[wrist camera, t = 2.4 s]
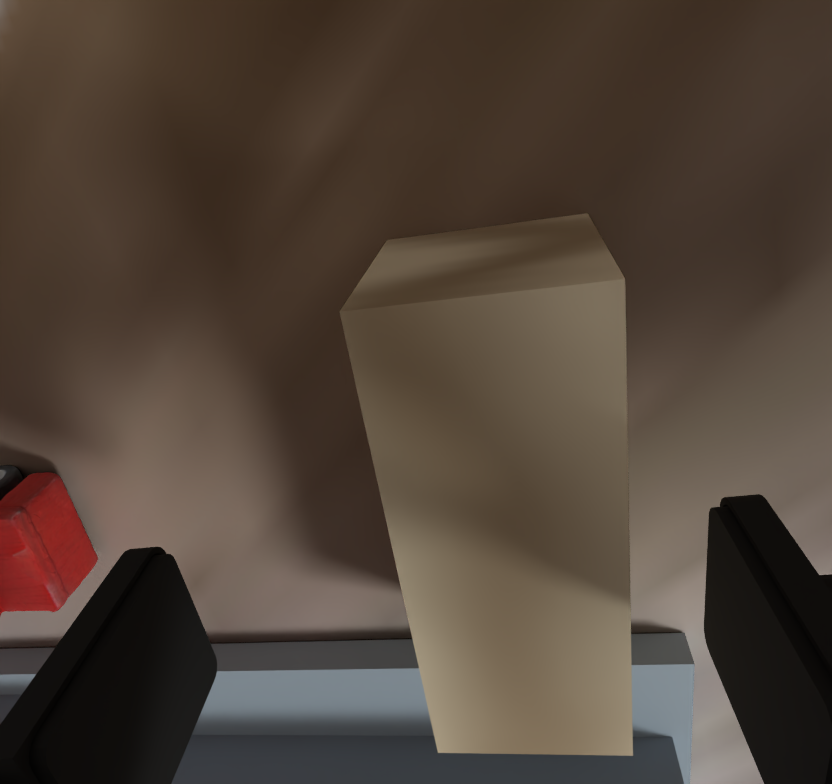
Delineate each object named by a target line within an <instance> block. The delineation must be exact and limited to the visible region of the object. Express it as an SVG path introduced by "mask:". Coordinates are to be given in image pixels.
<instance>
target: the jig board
mask: <svg viewBox="0 0 832 784" xmlns="http://www.w3.org/2000/svg"><path fill="white" fill-rule="evenodd" d="M211 646H212V648H213V651H214V653H215V655H216V659H217V673H216V677H215V680H214V683H213V685H212V687H211V690H210V692H209V695H208V697H207V699H206V702H205V704H204V707H203V709H202V711H201V714H200V716H199V719H198V721H197V723H196V726H195V728H194V731H193V733H192V735H191V738H190V740H189V743H188V745H187V747H186V750H185V752H184V755H183V757H182V759H181V762H180V764H179V767H178V769H177V771H176V774H175V776H174V779H173V781H172V783H171V784H690V770H691V743H692V717H693V691H694V661H693V658H692V655H691V652H690V649H689V646H688V642H687V639H686V636H685V633H654V634H631V666H632V728H633V756H618V755H550V754H482V753H438V751H437V746H436V742H435V738H434V733H433V729H432V724H431V720H430V715H429V711H428V706H427V702H426V697H425V693H424V688H423V684H422V679H421V675H420V670H419V666H418V661H417V657H416V653H415V648H414V644H413V639H398V640H355V641H313V642H270V643H227V644H211ZM54 649H55V648H14V649H0V724H1V723H2V721H3V720H4V719H5V717H6V716H7V714H8V713H9V712H10V710H11V709H12V707H13V706H14V705H15V703H16V702H17V700H18V699H19V698H20V696H21V695H22V693H23V692H24V691H25V689H26V688H27V686H28V685H29V684H30V682H31V681H32V680H33V678H34V677H35V675H36V674H37V673H38V671H39V670H40V668H41V667H42V666H43V664H44V663H45V661H46V660H47V659H48V657H49V656H50V654H51V653H52V652H53V650H54Z"/></svg>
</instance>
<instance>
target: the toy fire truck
mask: <svg viewBox="0 0 832 784" xmlns="http://www.w3.org/2000/svg"><path fill="white" fill-rule="evenodd" d="M97 560H98V557H97V555H96V553H95V551H94V549H93V547H92V544H91V542H90V540H89V538H88V536H87V533H86V532H85V529H84V527H83V525H82V522H81V520H80V518H79V517H78V514H77V512H76V510H75V508H74V505H73V502H72V500H71V499H70V497H69V495H68V493H67V490H66V488H65V486H64V483H63V481H62V479H61V478H60V476H58V475H57V474H55V473H50V472H45V473H34V474H30V475H28V476H27V477H26V478H25V479H24V480H23V477H22V475H21V473H20V471H19V470H18V469H17V468H16V467H14V466H11V465H3V466H0V615H1V613H2V612H4V611H52V612H55V611H57V610H59V609H60V608H61V607H62V606H63V605H64V604H65V602H66V600H67V598H68V597H69V596H70V595H71V594H72V593H73V592H74V591H75V590H76V588H77V587H78V586H79V585H80V584H81V582H82V580H83V579H84V578H85V577H86V576H87V575H88V573H89V572H90V571H91V570H92V568H93V567H94V566H95V564H96V562H97Z"/></svg>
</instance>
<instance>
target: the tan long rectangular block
mask: <svg viewBox="0 0 832 784" xmlns="http://www.w3.org/2000/svg"><path fill="white" fill-rule="evenodd" d="M339 313H340V317H341V322H342V326H343V330H344V335H345V339H346V344H347V348H348V353H349V357H350V362H351V366H352V371H353V375H354V380H355V384H356V389H357V393H358V398H359V402H360V406H361V411H362V415H363V420H364V424H365V429H366V433H367V438H368V442H369V447H370V451H371V456H372V460H373V465H374V469H375V474H376V478H377V483H378V487H379V491H380V496H381V500H382V505H383V509H384V514H385V518H386V523H387V527H388V532H389V536H390V541H391V545H392V550H393V554H394V559H395V563H396V568H397V572H398V576H399V581H400V585H401V590H402V594H403V599H404V603H405V608H406V612H407V617H408V621H409V626H410V630H411V635H412V639H413V644H414V648H415V653H416V657H417V661H418V666H419V670H420V675H421V679H422V684H423V688H424V693H425V697H426V702H427V706H428V711H429V715H430V720H431V724H432V729H433V733H434V738H435V742H436V746H437V751H438V753H482V754H550V755H618V756H633V728H632V666H631V605H630V544H629V483H628V421H627V360H626V299H625V278H624V276H623V274H622V273H621V271H620V269H619V267H618V266H617V264H616V262H615V260H614V259H613V257H612V255H611V253H610V252H609V250H608V248H607V246H606V245H605V243H604V241H603V239H602V238H601V236H600V234H599V232H598V231H597V229H596V227H595V225H594V224H593V222H592V220H591V218H590V217H589V215H588V213H585V214H577V215H570V216H562V217H555V218H547V219H540V220H533V221H525V222H518V223H510V224H503V225H495V226H488V227H481V228H473V229H466V230H458V231H451V232H443V233H436V234H428V235H421V236H414V237H406V238H399V239H391V240H387V241H386V242H385V244H384V245H383V247H382V248H381V250H380V251H379V253H378V254H377V256H376V257H375V259H374V260H373V262H372V263H371V265H370V266H369V268H368V269H367V271H366V272H365V274H364V275H363V277H362V278H361V280H360V281H359V283H358V284H357V286H356V287H355V289H354V290H353V292H352V293H351V295H350V296H349V298H348V299H347V301H346V302H345V304H344V305H343V307H342V308H341V310H340V311H339Z"/></svg>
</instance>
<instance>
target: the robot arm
mask: <svg viewBox="0 0 832 784" xmlns="http://www.w3.org/2000/svg"><path fill="white" fill-rule="evenodd" d="M704 633H705V639H706V643H707V647H708V650H709V653H710V655H711V657H712V660H713V662H714V665H715V667H716V669H717V672H718V674H719V677H720V679H721V681H722V684H723V686H724V689H725V691H726V693H727V696H728V698H729V700H730V703H731V705H732V708H733V710H734V712H735V715H736V717H737V720H738V722H739V724H740V727H741V729H742V732H743V734H744V736H745V739H746V741H747V744H748V746H749V748H750V751H751V753H752V756H753V758H754V760H755V763H756V765H757V767H758V770H759V772H760V775H761V777H762V779H763V782H764V784H832V575H819V574H818V573H817V571H816V570H815V569H814V567H813V566H812V564H811V563H810V561H809V560H808V559H807V557H806V556H805V554H804V553H803V551H802V550H801V549H800V547H799V546H798V544H797V543H796V541H795V540H794V539H793V537H792V536H791V534H790V533H789V531H788V530H787V529H786V527H785V526H784V524H783V523H782V521H781V520H780V519H779V517H778V516H777V514H776V513H775V511H774V510H773V509H772V507H771V506H770V504H769V503H768V501H767V500H766V499H765V498H764V497H763V496H762V495H760V494H758V495H747V496H735V497H724V498H723V499H722V500H721V502H720V507H714V508H711V509H710V511H709V526H708V549H707V571H706V594H705V616H704ZM216 673H217V659H216V655H215V653H214V651H213V648H212V646H211V643H210V641H209V639H208V636H207V634H206V632H205V629H204V627H203V625H202V622H201V620H200V617H199V615H198V613H197V610H196V608H195V606H194V603H193V601H192V598H191V596H190V594H189V591H188V589H187V587H186V584H185V582H184V580H183V577H182V575H181V572H180V570H179V568H178V565H177V563H176V561H175V559H174V557H173V556H172V555H171V554H166V552H165V551H164V550H163V549H162V548H161V547H150V548H138V549H129V550H127V551H125V552H124V553H123V554H122V556H121V557H120V558H119V560H118V561H117V562H116V564H115V565H114V567H113V568H112V569H111V571H110V572H109V574H108V575H107V576H106V578H105V579H104V581H103V582H102V583H101V585H100V586H99V588H98V589H97V590H96V592H95V593H94V595H93V596H92V597H91V599H90V600H89V601H88V603H87V604H86V606H85V607H84V608H83V610H82V611H81V613H80V614H79V615H78V617H77V618H76V620H75V621H74V622H73V624H72V625H71V627H70V628H69V629H68V631H67V632H66V634H65V635H64V636H63V638H62V639H61V641H60V642H59V643H58V645H57V646H56V647H55V649H54V650H53V652H52V653H51V654H50V656H49V657H48V659H47V660H46V661H45V663H44V664H43V666H42V667H41V668H40V670H39V671H38V673H37V674H36V675H35V677H34V678H33V680H32V681H31V682H30V684H29V685H28V686H27V688H26V689H25V691H24V692H23V693H22V695H21V696H20V698H19V699H18V700H17V702H16V703H15V705H14V706H13V707H12V709H11V710H10V712H9V713H8V714H7V716H6V717H5V719H4V720H3V721H2V723H1V724H0V784H171V783H172V781H173V779H174V776H175V774H176V771H177V769H178V767H179V764H180V762H181V759H182V757H183V755H184V752H185V750H186V747H187V745H188V743H189V740H190V738H191V735H192V733H193V731H194V728H195V726H196V723H197V721H198V719H199V716H200V714H201V711H202V709H203V707H204V704H205V702H206V699H207V697H208V695H209V692H210V690H211V687H212V685H213V683H214V680H215V677H216Z"/></svg>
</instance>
